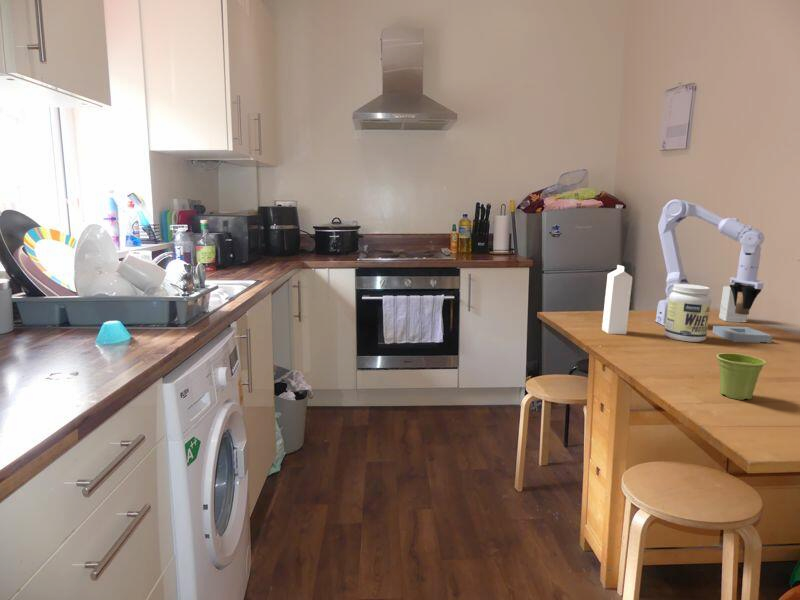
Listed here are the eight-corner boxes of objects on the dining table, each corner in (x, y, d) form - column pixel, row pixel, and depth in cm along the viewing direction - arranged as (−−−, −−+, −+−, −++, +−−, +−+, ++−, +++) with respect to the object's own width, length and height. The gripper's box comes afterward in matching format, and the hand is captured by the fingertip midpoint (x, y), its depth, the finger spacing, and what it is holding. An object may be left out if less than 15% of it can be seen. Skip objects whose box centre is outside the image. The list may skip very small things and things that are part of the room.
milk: (607, 333, 184) (614, 266, 180) (601, 329, 190) (607, 264, 186) (626, 334, 184) (633, 267, 180) (619, 330, 190) (626, 264, 186)
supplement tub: (680, 343, 175) (687, 289, 172) (655, 333, 187) (661, 283, 184) (715, 342, 177) (722, 289, 174) (688, 333, 189) (694, 283, 186)
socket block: (733, 341, 179) (734, 334, 179) (712, 333, 191) (713, 325, 191) (770, 343, 179) (771, 335, 179) (747, 334, 191) (748, 327, 191)
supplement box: (746, 323, 211) (751, 289, 209) (725, 321, 212) (729, 288, 210) (739, 319, 218) (743, 286, 216) (718, 317, 219) (722, 285, 217)
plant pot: (710, 397, 125) (715, 359, 124) (712, 386, 133) (717, 350, 131) (760, 406, 120) (766, 367, 119) (759, 394, 128) (765, 357, 127)
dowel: (739, 314, 186) (742, 293, 185) (732, 312, 190) (735, 291, 189) (751, 314, 186) (754, 293, 185) (743, 312, 190) (746, 291, 189)
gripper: (775, 269, 178) (768, 312, 181) (746, 264, 193) (740, 303, 195) (753, 269, 178) (747, 311, 180) (726, 263, 192) (720, 303, 195)
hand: (742, 307), depth 188 cm, fingers closed on dowel, 4 cm apart
